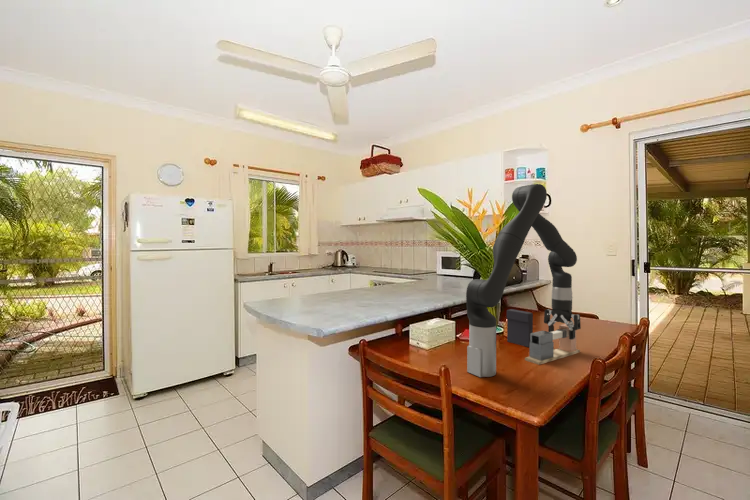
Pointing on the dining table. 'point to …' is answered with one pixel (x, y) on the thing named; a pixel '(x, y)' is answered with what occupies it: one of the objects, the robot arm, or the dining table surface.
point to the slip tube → (560, 333)
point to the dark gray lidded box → (519, 327)
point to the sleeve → (541, 345)
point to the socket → (567, 341)
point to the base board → (557, 355)
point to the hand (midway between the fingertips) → (561, 336)
